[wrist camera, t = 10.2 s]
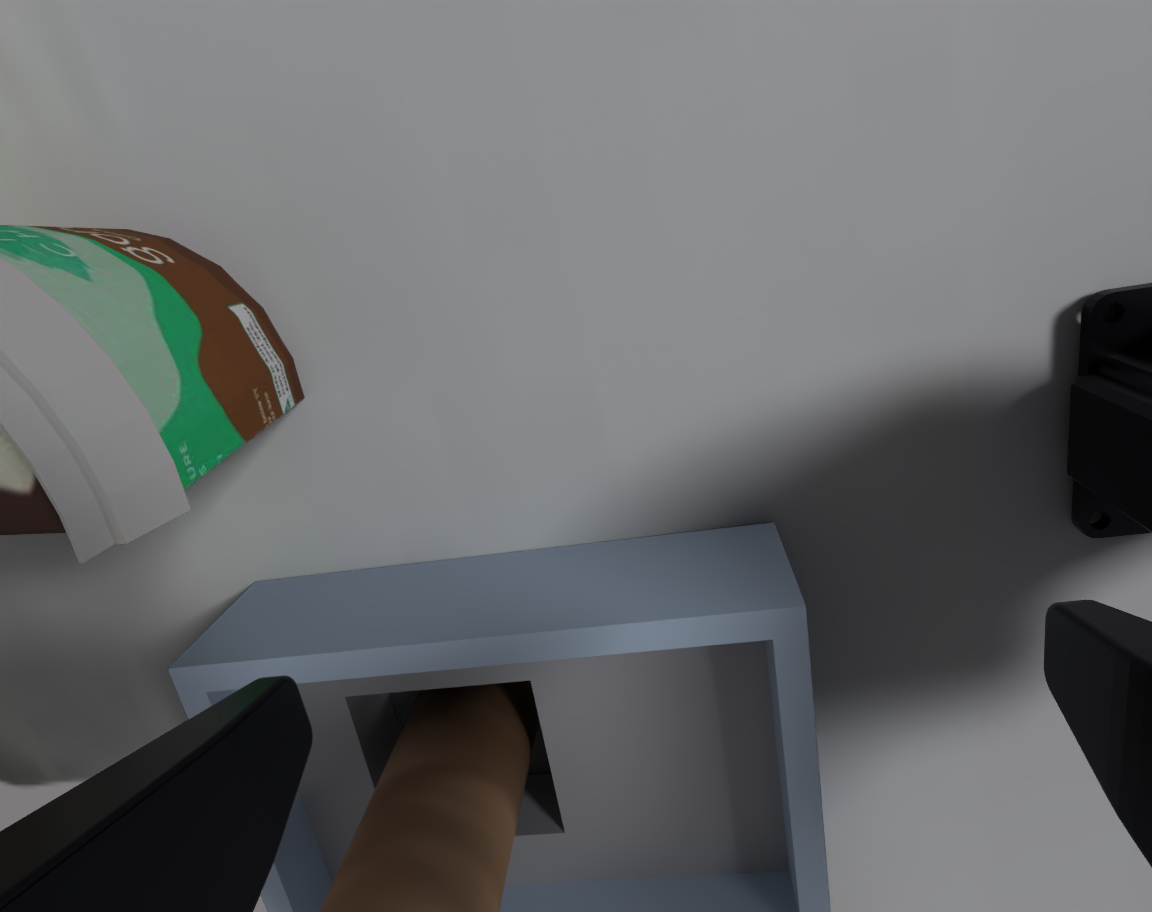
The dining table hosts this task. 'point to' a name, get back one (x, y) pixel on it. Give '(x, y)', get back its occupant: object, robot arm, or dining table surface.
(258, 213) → the dining table surface
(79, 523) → the food container
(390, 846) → the peg
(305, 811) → the box
